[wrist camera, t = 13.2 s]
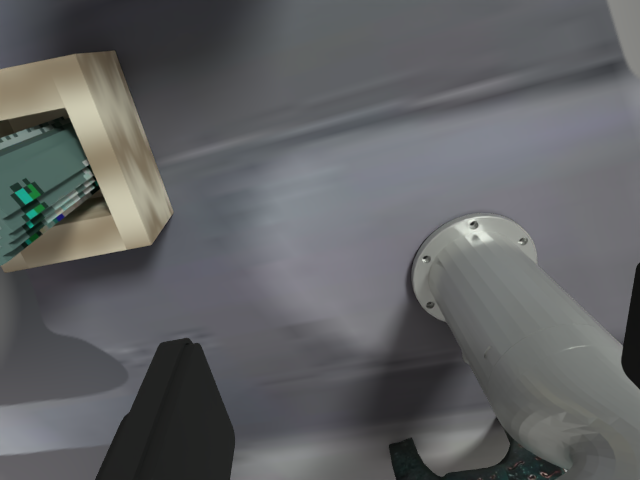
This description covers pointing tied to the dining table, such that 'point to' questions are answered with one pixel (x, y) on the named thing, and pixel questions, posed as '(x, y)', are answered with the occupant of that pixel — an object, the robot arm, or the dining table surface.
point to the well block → (89, 155)
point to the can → (40, 182)
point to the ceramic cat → (507, 476)
